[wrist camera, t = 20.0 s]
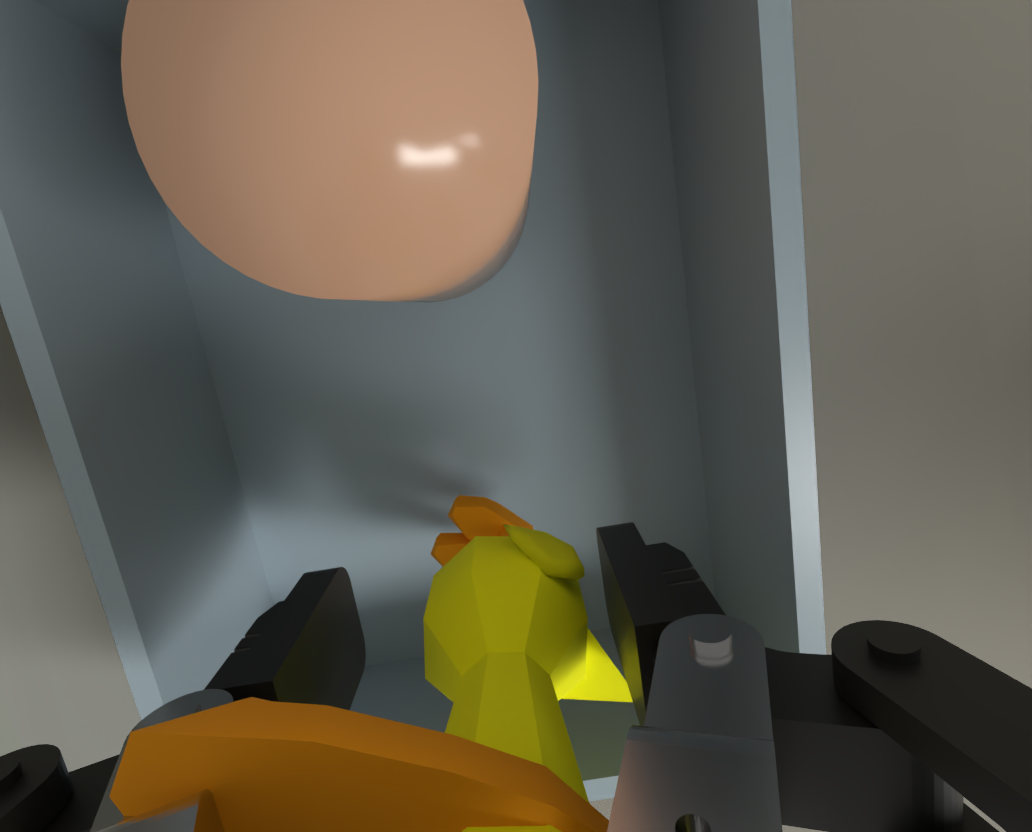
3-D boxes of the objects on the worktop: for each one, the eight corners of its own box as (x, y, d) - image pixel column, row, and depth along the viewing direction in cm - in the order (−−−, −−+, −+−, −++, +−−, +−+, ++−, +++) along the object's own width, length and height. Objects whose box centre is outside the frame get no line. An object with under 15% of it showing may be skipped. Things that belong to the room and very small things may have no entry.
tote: (668, -52, 14) (777, -273, 8) (729, 615, 17) (831, 764, 12) (110, 43, 14) (-142, -113, 8) (286, 683, 17) (189, 861, 12)
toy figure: (320, 545, 14) (-472, 1683, 3) (370, 412, 14) (-396, 1168, 2) (573, 640, 15) (812, 1867, 3) (634, 518, 14) (1193, 1530, 3)
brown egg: (474, 40, 13) (427, -239, 7) (562, 249, 14) (603, 197, 7) (279, 137, 14) (40, -30, 7) (375, 336, 15) (246, 362, 8)
